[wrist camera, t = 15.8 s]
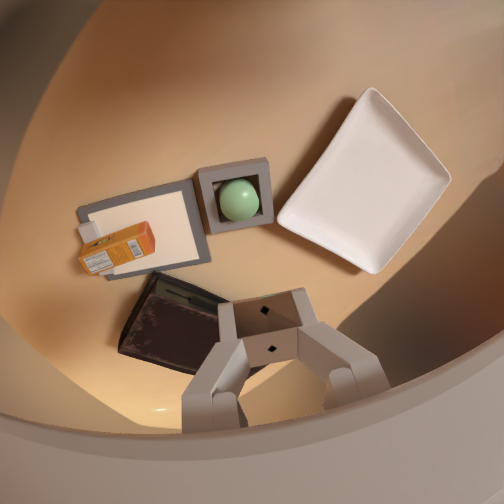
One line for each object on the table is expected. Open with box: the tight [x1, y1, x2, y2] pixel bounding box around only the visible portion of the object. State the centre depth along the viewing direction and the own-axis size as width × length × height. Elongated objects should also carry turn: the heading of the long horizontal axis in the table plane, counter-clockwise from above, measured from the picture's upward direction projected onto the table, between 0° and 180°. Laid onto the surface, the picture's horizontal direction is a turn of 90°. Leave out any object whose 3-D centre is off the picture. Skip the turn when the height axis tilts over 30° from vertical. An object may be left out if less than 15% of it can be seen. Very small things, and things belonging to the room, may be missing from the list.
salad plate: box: [277, 87, 451, 275], centre depth 35 cm, size 21×21×3 cm
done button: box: [219, 177, 259, 221], centre depth 33 cm, size 4×4×3 cm
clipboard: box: [77, 178, 211, 281], centre depth 35 cm, size 16×12×2 cm
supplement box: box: [78, 221, 155, 276], centre depth 32 cm, size 3×3×10 cm
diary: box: [118, 270, 268, 380], centre depth 45 cm, size 19×25×5 cm
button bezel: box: [198, 157, 275, 234], centre depth 34 cm, size 8×8×2 cm
